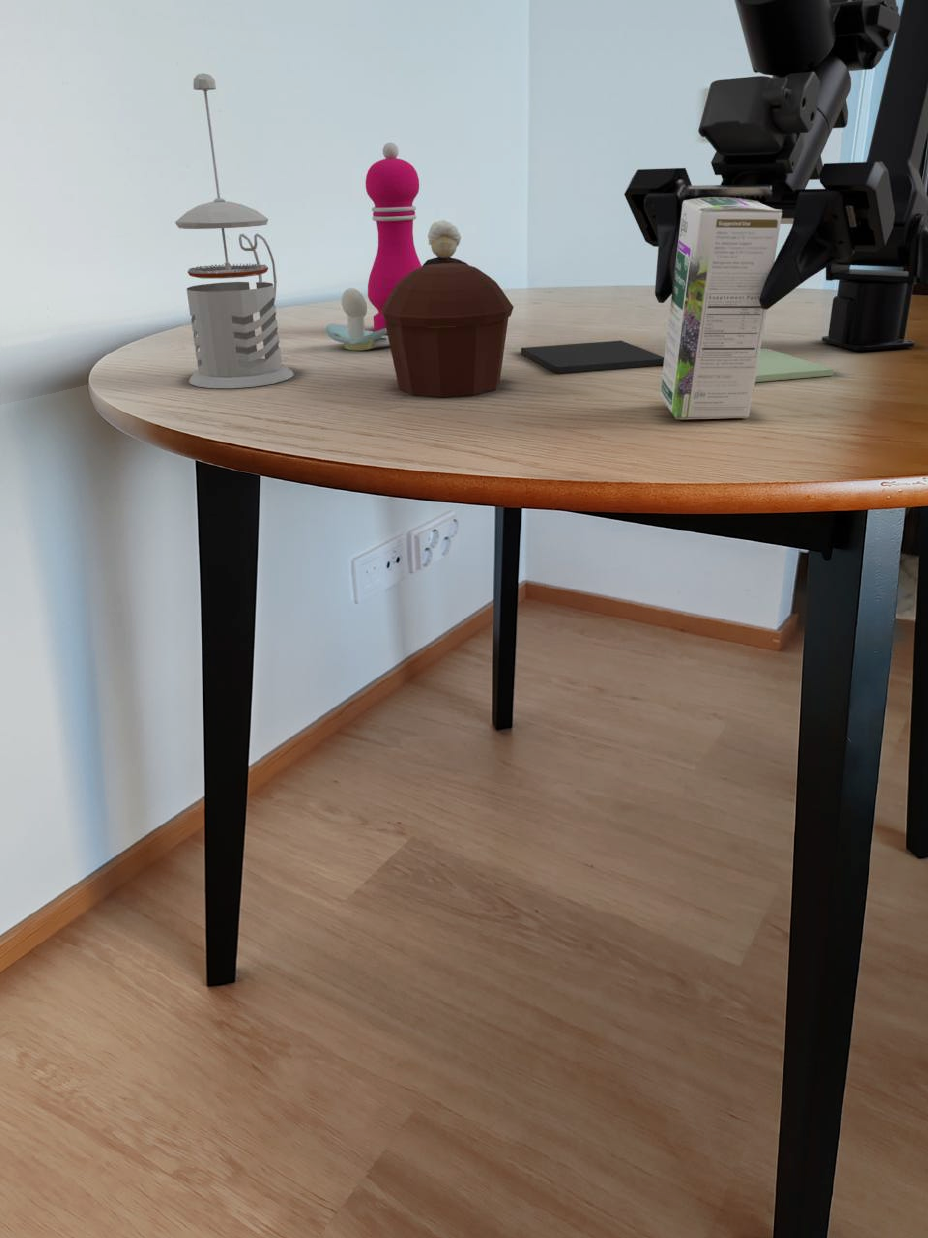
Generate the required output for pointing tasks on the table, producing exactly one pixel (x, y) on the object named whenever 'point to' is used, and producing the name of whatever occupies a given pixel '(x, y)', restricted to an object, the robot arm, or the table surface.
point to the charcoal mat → (591, 356)
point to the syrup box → (718, 306)
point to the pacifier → (356, 325)
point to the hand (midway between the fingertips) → (708, 301)
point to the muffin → (447, 330)
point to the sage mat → (786, 367)
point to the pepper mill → (391, 225)
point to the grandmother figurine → (443, 242)
